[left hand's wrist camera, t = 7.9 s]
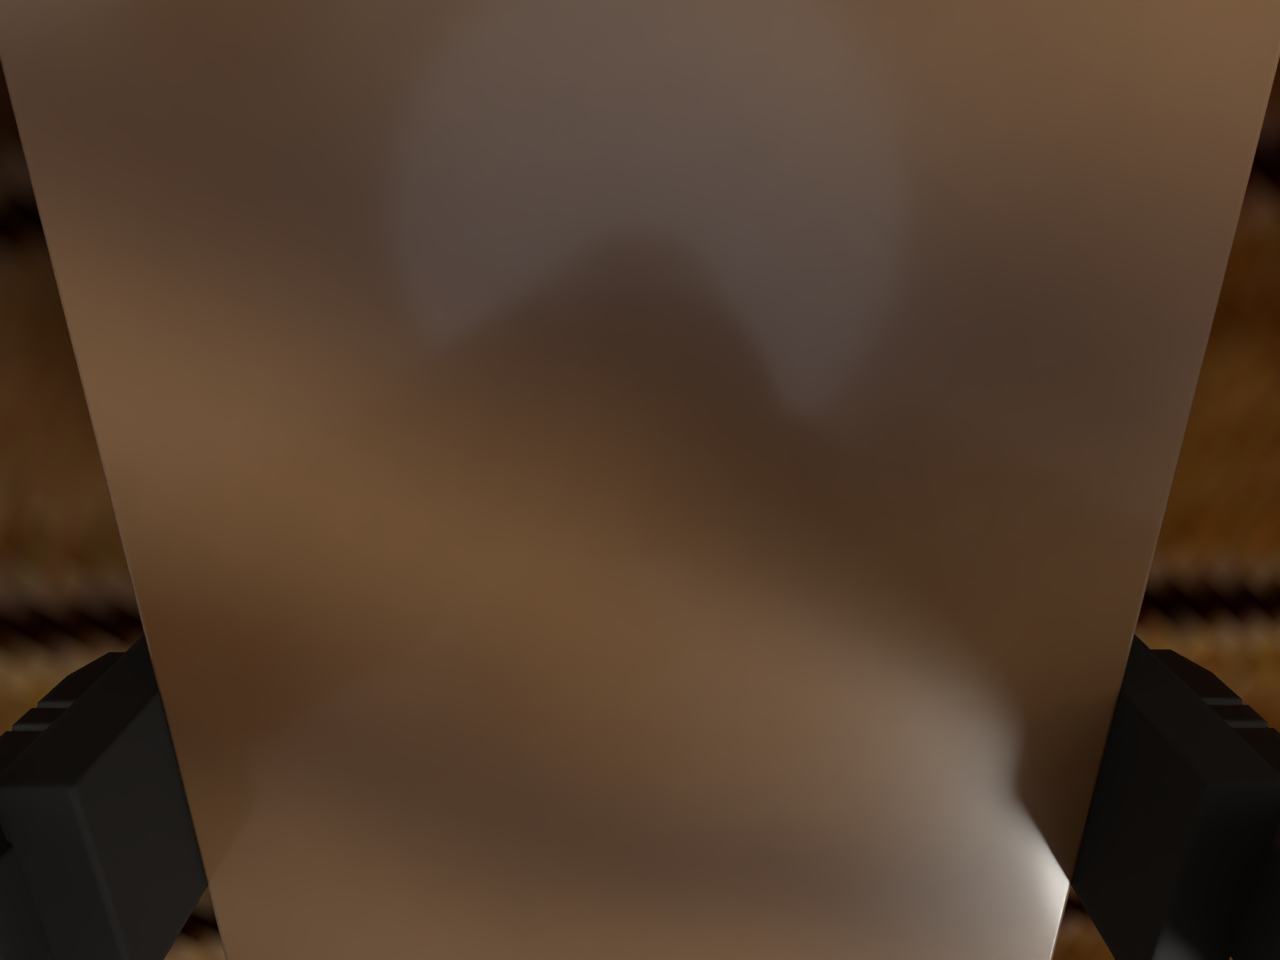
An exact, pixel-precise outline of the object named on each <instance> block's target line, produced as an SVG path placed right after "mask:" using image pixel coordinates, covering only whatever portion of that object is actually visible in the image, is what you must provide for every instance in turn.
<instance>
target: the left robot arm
mask: <svg viewBox="0 0 1280 960" xmlns="http://www.w3.org/2000/svg"><path fill="white" fill-rule="evenodd" d="M207 886H208V885H207V881H206V877H205V873H204V869H203V865H202V861H201V857H200V853H199V849H198V845H197V841H196V837H195V833H194V829H193V825H192V821H191V817H190V813H189V809H188V805H187V801H186V797H185V793H184V789H183V785H182V781H181V777H180V773H179V769H178V765H177V761H176V757H175V753H174V749H173V745H172V741H171V737H170V733H169V729H168V725H167V721H166V717H165V713H164V709H163V705H162V701H161V698H160V694H159V690H158V686H157V682H156V678H155V674H154V670H153V666H152V662H151V658H150V654H149V650H148V646H147V642H146V638H145V634H144V635H143V636H142V637H141V638H140V639H139V640H138V641H137V642H136V643H135V644H134V645H133V646H132V647H131V648H130V649H129V650H128V651H126V652H109V653H107V654H105V655H104V656H102V657H100V658H98V659H96V660H95V661H93V662H91V663H89V664H88V665H86V666H84V667H82V668H80V669H79V670H77V671H75V672H73V673H71V674H70V675H68V676H67V677H66V678H65V679H63V680H62V681H61V682H60V683H59V684H58V685H57V686H56V687H55V688H53V689H52V690H51V691H50V692H49V693H48V694H47V695H46V696H45V697H44V698H42V699H41V700H40V701H39V702H38V706H37V708H31V709H30V710H29V711H28V712H27V713H26V714H25V715H24V716H23V717H21V718H20V719H19V720H18V721H17V722H16V723H15V724H14V725H13V729H12V731H6V732H5V733H4V734H3V735H1V736H0V960H49V959H50V960H164V958H165V956H166V955H167V953H168V951H169V950H170V948H171V946H172V945H173V943H174V941H175V940H176V938H177V936H178V935H179V933H180V931H181V930H182V928H183V926H184V924H185V923H186V921H187V919H188V918H189V916H190V914H191V913H192V911H193V909H194V908H195V906H196V904H197V903H198V901H199V899H200V898H201V896H202V894H203V892H204V891H205V889H206V887H207ZM1071 886H1072V887H1073V889H1074V891H1075V892H1076V894H1077V896H1078V897H1079V899H1080V901H1081V902H1082V904H1083V906H1084V907H1085V909H1086V911H1087V912H1088V914H1089V916H1090V918H1091V919H1092V921H1093V923H1094V924H1095V926H1096V928H1097V929H1098V931H1099V933H1100V934H1101V936H1102V938H1103V939H1104V941H1105V943H1106V944H1107V946H1108V948H1109V950H1110V951H1111V953H1112V955H1113V956H1114V958H1115V960H1229V958H1230V956H1231V957H1232V959H1233V960H1280V733H1279V732H1278V731H1276V730H1275V729H1274V728H1268V726H1267V722H1266V721H1265V720H1264V719H1263V718H1262V717H1261V716H1260V715H1259V714H1257V713H1256V712H1255V711H1254V710H1253V709H1252V708H1251V707H1250V706H1249V705H1243V704H1242V699H1241V698H1240V697H1239V696H1237V695H1236V694H1235V693H1234V692H1233V691H1232V690H1231V689H1230V688H1229V687H1227V686H1226V685H1225V684H1224V683H1223V682H1222V681H1221V680H1220V679H1218V678H1217V677H1216V676H1215V675H1214V674H1213V673H1212V672H1210V671H1208V670H1206V669H1205V668H1203V667H1201V666H1199V665H1197V664H1196V663H1194V662H1192V661H1190V660H1188V659H1187V658H1185V657H1183V656H1181V655H1179V654H1178V653H1176V652H1174V651H1172V650H1150V649H1149V648H1148V647H1147V646H1146V645H1145V644H1144V643H1143V642H1142V641H1141V640H1140V639H1139V638H1138V637H1137V636H1136V635H1135V634H1134V637H1133V641H1132V645H1131V649H1130V653H1129V657H1128V661H1127V665H1126V669H1125V673H1124V677H1123V681H1122V685H1121V689H1120V693H1119V696H1118V700H1117V704H1116V708H1115V712H1114V716H1113V720H1112V724H1111V728H1110V732H1109V736H1108V740H1107V744H1106V748H1105V752H1104V756H1103V760H1102V764H1101V768H1100V772H1099V776H1098V780H1097V784H1096V788H1095V792H1094V796H1093V800H1092V804H1091V808H1090V812H1089V816H1088V820H1087V824H1086V828H1085V832H1084V836H1083V840H1082V844H1081V847H1080V851H1079V855H1078V859H1077V863H1076V867H1075V871H1074V875H1073V879H1072V883H1071Z"/></svg>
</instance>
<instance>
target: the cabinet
mask: <svg viewBox="0 0 1280 960" xmlns="http://www.w3.org/2000/svg"><path fill="white" fill-rule="evenodd" d="M1279 57H1280V0H0V60H1V64H2V68H3V72H4V76H5V80H6V84H7V88H8V92H9V96H10V100H11V104H12V108H13V112H14V116H15V120H16V124H17V128H18V132H19V136H20V140H21V144H22V148H23V152H24V156H25V160H26V164H27V168H28V172H29V176H30V180H31V184H32V188H33V192H34V195H35V199H36V203H37V207H38V211H39V215H40V219H41V223H42V227H43V231H44V235H45V239H46V243H47V247H48V251H49V255H50V259H51V263H52V267H53V271H54V275H55V279H56V283H57V287H58V291H59V295H60V299H61V303H62V307H63V311H64V315H65V319H66V323H67V327H68V331H69V335H70V339H71V343H72V347H73V351H74V355H75V359H76V363H77V367H78V371H79V375H80V379H81V383H82V387H83V391H84V395H85V399H86V403H87V407H88V411H89V415H90V419H91V423H92V427H93V431H94V435H95V439H96V443H97V446H98V450H99V454H100V458H101V462H102V466H103V470H104V474H105V478H106V482H107V486H108V490H109V494H110V498H111V502H112V506H113V510H114V514H115V518H116V522H117V526H118V530H119V534H120V538H121V542H122V546H123V550H124V554H125V558H126V562H127V566H128V570H129V574H130V578H131V582H132V586H133V590H134V594H135V598H136V602H137V606H138V610H139V614H140V618H141V622H142V626H143V630H144V634H145V638H146V642H147V646H148V650H149V654H150V658H151V662H152V666H153V670H154V674H155V678H156V682H157V686H158V690H159V694H160V698H161V701H162V705H163V709H164V713H165V717H166V721H167V725H168V729H169V733H170V737H171V741H172V745H173V749H174V753H175V757H176V761H177V765H178V769H179V773H180V777H181V781H182V785H183V789H184V793H185V797H186V801H187V805H188V809H189V813H190V817H191V821H192V825H193V829H194V833H195V837H196V841H197V845H198V849H199V853H200V857H201V861H202V865H203V869H204V873H205V877H206V881H207V885H208V889H209V893H210V897H211V901H212V905H213V909H214V913H215V917H216V921H217V925H218V929H219V933H220V937H221V941H222V945H223V949H224V952H225V956H226V960H1052V959H1053V955H1054V951H1055V947H1056V943H1057V939H1058V935H1059V931H1060V927H1061V923H1062V919H1063V915H1064V911H1065V907H1066V903H1067V899H1068V895H1069V891H1070V887H1071V883H1072V879H1073V875H1074V871H1075V867H1076V863H1077V859H1078V855H1079V851H1080V847H1081V844H1082V840H1083V836H1084V832H1085V828H1086V824H1087V820H1088V816H1089V812H1090V808H1091V804H1092V800H1093V796H1094V792H1095V788H1096V784H1097V780H1098V776H1099V772H1100V768H1101V764H1102V760H1103V756H1104V752H1105V748H1106V744H1107V740H1108V736H1109V732H1110V728H1111V724H1112V720H1113V716H1114V712H1115V708H1116V704H1117V700H1118V696H1119V693H1120V689H1121V685H1122V681H1123V677H1124V673H1125V669H1126V665H1127V661H1128V657H1129V653H1130V649H1131V645H1132V641H1133V637H1134V633H1135V629H1136V625H1137V621H1138V617H1139V613H1140V609H1141V605H1142V601H1143V597H1144V593H1145V589H1146V585H1147V581H1148V577H1149V573H1150V569H1151V565H1152V561H1153V557H1154V553H1155V549H1156V545H1157V541H1158V538H1159V534H1160V530H1161V526H1162V522H1163V518H1164V514H1165V510H1166V506H1167V502H1168V498H1169V494H1170V490H1171V486H1172V482H1173V478H1174V474H1175V470H1176V466H1177V462H1178V458H1179V454H1180V450H1181V446H1182V442H1183V438H1184V434H1185V430H1186V426H1187V422H1188V418H1189V414H1190V410H1191V406H1192V402H1193V398H1194V394H1195V390H1196V387H1197V383H1198V379H1199V375H1200V371H1201V367H1202V363H1203V359H1204V355H1205V351H1206V347H1207V343H1208V339H1209V335H1210V331H1211V327H1212V323H1213V319H1214V315H1215V311H1216V307H1217V303H1218V299H1219V295H1220V291H1221V287H1222V283H1223V279H1224V275H1225V271H1226V267H1227V263H1228V259H1229V255H1230V251H1231V247H1232V243H1233V239H1234V236H1235V232H1236V228H1237V224H1238V220H1239V216H1240V212H1241V208H1242V204H1243V200H1244V196H1245V192H1246V188H1247V184H1248V180H1249V176H1250V172H1251V168H1252V164H1253V160H1254V156H1255V152H1256V148H1257V144H1258V140H1259V136H1260V132H1261V128H1262V124H1263V120H1264V116H1265V112H1266V108H1267V104H1268V100H1269V96H1270V92H1271V88H1272V84H1273V81H1274V77H1275V73H1276V69H1277V65H1278V61H1279Z"/></svg>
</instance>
